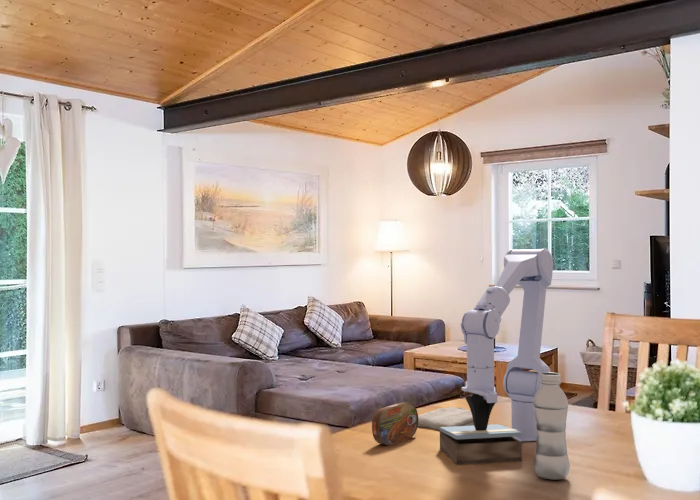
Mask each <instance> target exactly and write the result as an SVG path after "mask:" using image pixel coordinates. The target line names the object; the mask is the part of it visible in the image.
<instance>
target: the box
mask: <svg viewBox="0 0 700 500" xmlns="http://www.w3.org/2000/svg"><path fill="white" fill-rule="evenodd" d="M522 443H523V441H520V440H518V439H517V438H515V437H495V438H475V439H455V438H453V437H451V436H449V435H447V434H445V433H443V432H441V431H440V430H439V450H440V451H441V452H442V453H443V454H445V455H446V457H448V458H449V459H450V461H452V462H453V463H455V465H459V466H461V465H475V464H491V463H492V464H493V463H494V464H495V463H509V462H510V463H511V462H522V461H523V460H522V459H523V457H522V455H523V454H522V453H523V451H522V449H523V448H522V446H523V445H522Z"/></svg>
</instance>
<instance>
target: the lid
mask: <svg viewBox="0 0 700 500" xmlns="http://www.w3.org/2000/svg"><path fill="white" fill-rule="evenodd" d="M440 431H441V432H443V433H445V434H447V435H449V436H451V437H453V438H455V439H475V438H495V437H514V436H521V432H519V431H518V430H516V429H512V427H509V426H506V425H502V424H499V423H498V424H495V423H494V424H488V426H487V429H486V430H479V431H476V430H475V426H474V425H471V426H453V427H440V430H439V432H440Z"/></svg>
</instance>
